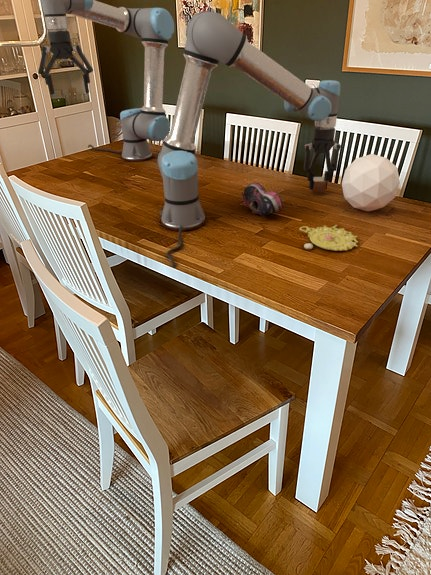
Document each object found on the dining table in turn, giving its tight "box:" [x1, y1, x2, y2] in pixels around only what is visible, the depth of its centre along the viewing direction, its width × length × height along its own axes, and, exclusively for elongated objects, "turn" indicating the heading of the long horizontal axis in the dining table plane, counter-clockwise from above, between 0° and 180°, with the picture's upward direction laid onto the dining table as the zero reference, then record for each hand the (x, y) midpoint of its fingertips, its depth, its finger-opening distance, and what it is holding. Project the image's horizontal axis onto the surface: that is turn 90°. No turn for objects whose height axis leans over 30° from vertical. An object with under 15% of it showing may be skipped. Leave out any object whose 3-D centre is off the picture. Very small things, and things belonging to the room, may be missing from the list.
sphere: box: [341, 153, 401, 213], centre depth 157 cm, size 19×20×20 cm
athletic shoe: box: [238, 182, 284, 217], centre depth 160 cm, size 11×22×12 cm
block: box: [311, 176, 328, 193], centre depth 173 cm, size 5×5×4 cm
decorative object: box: [299, 224, 359, 252], centre depth 141 cm, size 21×2×20 cm
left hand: (70, 93), depth 172 cm, fingers open, 13 cm apart
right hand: (317, 188), depth 174 cm, fingers closed on block, 5 cm apart
